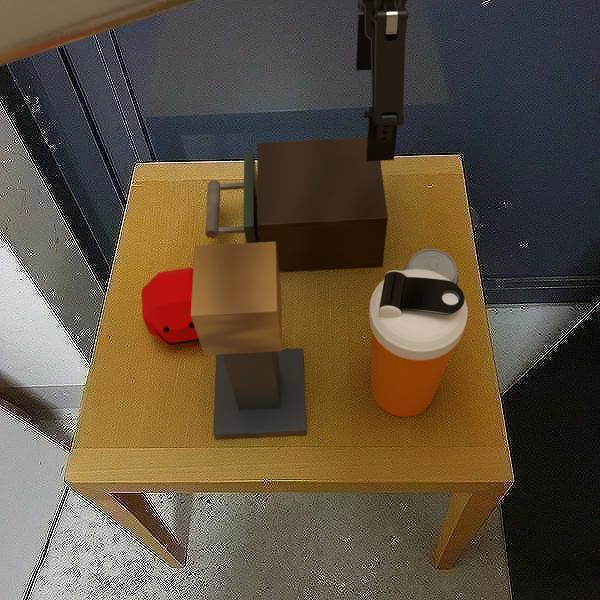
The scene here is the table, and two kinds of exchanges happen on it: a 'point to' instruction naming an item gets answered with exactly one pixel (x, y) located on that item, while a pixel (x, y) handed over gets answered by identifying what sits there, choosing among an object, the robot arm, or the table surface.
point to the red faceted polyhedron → (170, 307)
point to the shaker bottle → (413, 337)
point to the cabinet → (321, 204)
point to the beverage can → (434, 263)
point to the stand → (260, 395)
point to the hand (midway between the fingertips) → (373, 111)
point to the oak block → (237, 298)
